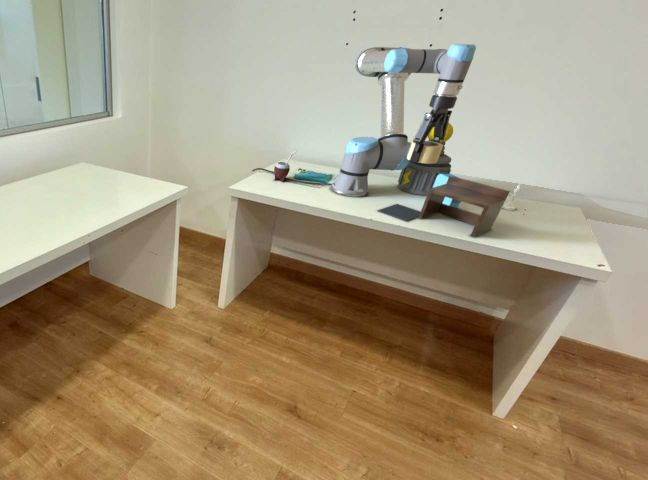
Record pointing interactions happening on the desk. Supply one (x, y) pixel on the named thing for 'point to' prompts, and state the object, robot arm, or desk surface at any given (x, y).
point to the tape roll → (427, 152)
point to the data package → (442, 180)
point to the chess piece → (511, 200)
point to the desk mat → (401, 212)
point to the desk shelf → (468, 193)
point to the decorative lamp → (425, 170)
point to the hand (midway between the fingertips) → (421, 159)
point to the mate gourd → (282, 169)
